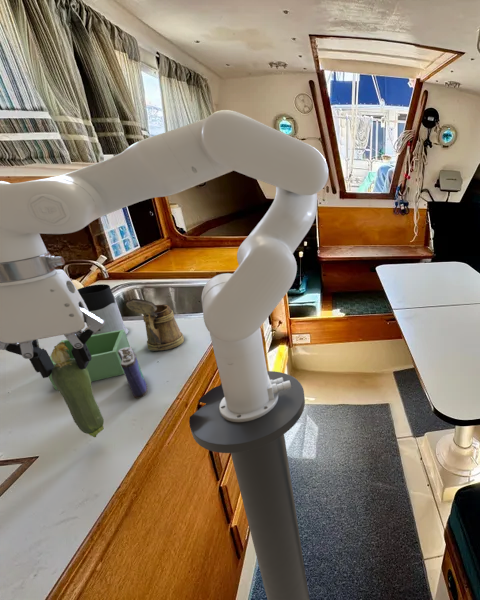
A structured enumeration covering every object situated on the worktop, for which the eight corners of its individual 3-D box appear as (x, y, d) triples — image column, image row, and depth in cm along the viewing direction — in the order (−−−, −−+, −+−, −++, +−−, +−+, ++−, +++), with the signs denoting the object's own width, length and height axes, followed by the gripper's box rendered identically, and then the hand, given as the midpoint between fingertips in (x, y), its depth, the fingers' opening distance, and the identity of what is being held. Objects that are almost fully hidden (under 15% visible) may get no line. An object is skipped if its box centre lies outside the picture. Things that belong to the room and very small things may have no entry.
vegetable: (77, 437, 60) (28, 346, 52) (102, 420, 64) (61, 333, 56) (93, 443, 59) (47, 351, 51) (118, 426, 63) (79, 337, 55)
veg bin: (131, 349, 90) (124, 329, 87) (124, 374, 80) (115, 351, 78) (71, 362, 84) (61, 340, 81) (55, 390, 74) (43, 366, 72)
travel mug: (135, 329, 100) (120, 284, 94) (89, 354, 88) (68, 304, 81) (111, 326, 101) (94, 282, 95) (61, 351, 89) (38, 301, 82)
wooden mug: (133, 362, 85) (111, 300, 77) (155, 337, 97) (138, 281, 89) (171, 358, 87) (153, 297, 80) (189, 334, 99) (174, 279, 92)
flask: (128, 380, 78) (114, 342, 74) (143, 375, 80) (130, 338, 76) (134, 400, 72) (118, 360, 68) (150, 394, 74) (136, 355, 70)
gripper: (95, 254, 55) (131, 346, 62) (-53, 270, 47) (8, 372, 55) (84, 267, 49) (125, 366, 57) (-88, 286, 41) (-14, 398, 49)
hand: (67, 368), depth 56 cm, fingers closed on vegetable, 4 cm apart
